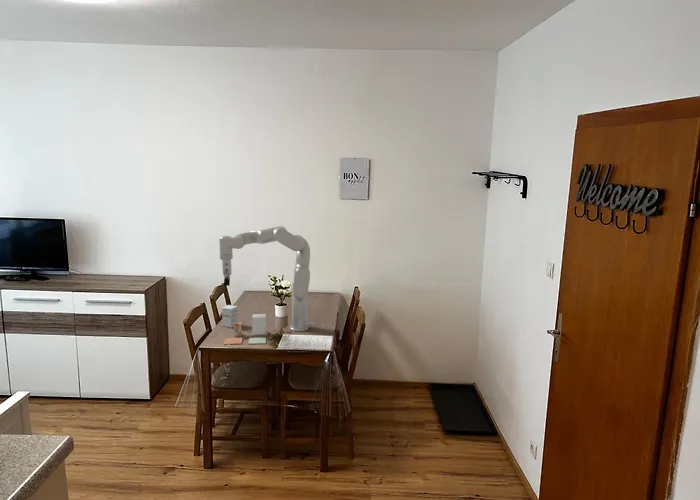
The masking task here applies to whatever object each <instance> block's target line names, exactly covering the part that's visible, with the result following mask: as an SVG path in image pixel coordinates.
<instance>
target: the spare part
mask: <svg viewBox="0 0 700 500" xmlns="http://www.w3.org/2000/svg"><path fill="white" fill-rule="evenodd" d="M233 330H234V331H233V335H234V337H233V338H242V321H238V322H234V327H233Z"/></svg>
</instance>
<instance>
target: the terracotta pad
mask: <svg viewBox="0 0 700 500" xmlns="http://www.w3.org/2000/svg"><path fill="white" fill-rule="evenodd" d="M228 344H232V345H242V344H243V337H226V338H225V339H224V342H223V345H224V346H228Z"/></svg>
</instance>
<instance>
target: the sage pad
mask: <svg viewBox="0 0 700 500" xmlns="http://www.w3.org/2000/svg"><path fill="white" fill-rule="evenodd" d="M266 344H267V337H248V345H266Z"/></svg>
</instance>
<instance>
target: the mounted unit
mask: <svg viewBox="0 0 700 500" xmlns="http://www.w3.org/2000/svg"><path fill="white" fill-rule="evenodd" d="M251 318H252V319H251V320H252V323H251V324H252V330H251V332H250V338H260V337H266V338H267V337H269V335H268V334H269V330H267V314H266V313H260V314H259V313H253V314H252V316H251Z"/></svg>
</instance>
